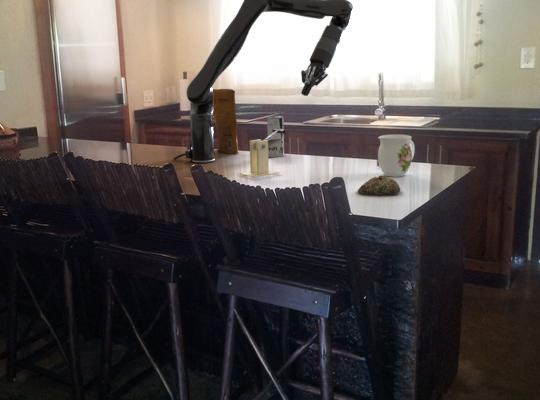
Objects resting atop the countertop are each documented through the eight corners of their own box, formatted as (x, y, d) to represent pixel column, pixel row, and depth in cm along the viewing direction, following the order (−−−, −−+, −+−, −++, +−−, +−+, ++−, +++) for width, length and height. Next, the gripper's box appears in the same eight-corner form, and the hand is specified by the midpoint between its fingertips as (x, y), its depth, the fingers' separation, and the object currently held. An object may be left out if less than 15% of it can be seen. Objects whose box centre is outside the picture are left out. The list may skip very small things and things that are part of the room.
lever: (275, 132, 234) (273, 126, 233) (286, 133, 229) (283, 128, 228) (252, 149, 230) (249, 144, 229) (262, 151, 225) (259, 145, 224)
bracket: (264, 171, 237) (263, 137, 234) (279, 175, 229) (278, 140, 226) (239, 176, 231) (238, 141, 228) (254, 180, 224) (253, 143, 221)
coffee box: (283, 157, 264) (282, 118, 260) (267, 157, 266) (266, 118, 262) (284, 153, 273) (283, 115, 269) (269, 153, 274) (268, 115, 270)
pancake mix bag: (230, 155, 274) (228, 89, 268) (209, 150, 291) (206, 88, 284) (244, 153, 277) (241, 88, 271) (222, 148, 294) (219, 87, 287)
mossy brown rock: (399, 197, 189) (399, 180, 188) (356, 195, 194) (356, 179, 193) (402, 187, 201) (402, 172, 199) (361, 186, 205) (362, 171, 204)
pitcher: (426, 172, 220) (427, 132, 217) (392, 180, 211) (393, 139, 207) (400, 168, 229) (401, 130, 226) (366, 176, 220) (366, 136, 216)
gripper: (305, 47, 238) (285, 89, 237) (329, 47, 226) (309, 90, 226) (318, 57, 242) (299, 98, 241) (343, 57, 230) (322, 100, 229)
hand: (304, 94), depth 233 cm, fingers closed
